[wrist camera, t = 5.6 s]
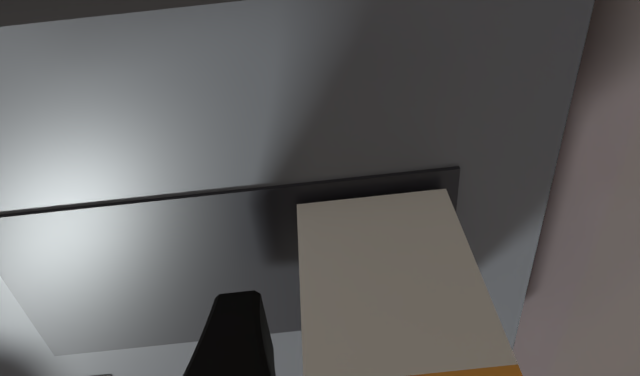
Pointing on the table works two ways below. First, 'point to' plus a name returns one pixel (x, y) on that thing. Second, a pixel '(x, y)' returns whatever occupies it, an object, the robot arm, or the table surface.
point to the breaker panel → (253, 156)
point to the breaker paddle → (394, 291)
